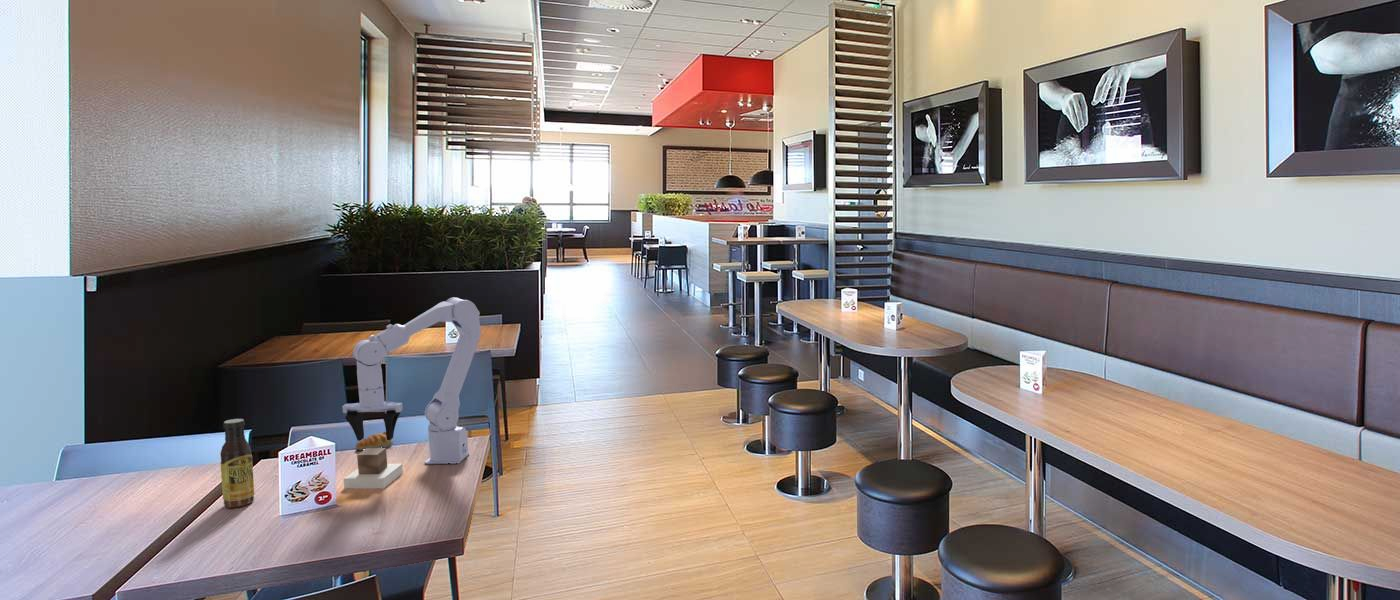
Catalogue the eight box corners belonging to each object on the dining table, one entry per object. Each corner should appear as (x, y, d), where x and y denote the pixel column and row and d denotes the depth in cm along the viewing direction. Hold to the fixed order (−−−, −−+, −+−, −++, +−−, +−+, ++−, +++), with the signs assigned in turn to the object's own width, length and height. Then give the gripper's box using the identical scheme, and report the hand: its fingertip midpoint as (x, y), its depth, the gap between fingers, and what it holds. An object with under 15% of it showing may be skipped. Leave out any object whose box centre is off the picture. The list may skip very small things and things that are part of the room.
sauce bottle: (232, 511, 163) (222, 426, 161) (218, 505, 167) (209, 423, 164) (262, 501, 169) (253, 419, 166) (248, 496, 172) (239, 415, 170)
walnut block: (387, 466, 183) (386, 447, 182) (378, 474, 178) (377, 454, 177) (367, 467, 183) (366, 448, 182) (358, 474, 178) (357, 455, 177)
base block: (403, 475, 185) (402, 463, 185) (384, 490, 175) (383, 478, 175) (365, 475, 186) (364, 463, 185) (344, 490, 176) (343, 478, 176)
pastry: (360, 454, 201) (359, 441, 200) (352, 449, 206) (351, 436, 205) (394, 446, 207) (393, 433, 207) (385, 441, 212) (384, 428, 212)
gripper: (334, 392, 178) (339, 444, 180) (392, 391, 177) (396, 444, 179) (348, 384, 185) (353, 435, 187) (404, 384, 184) (408, 435, 186)
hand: (375, 439), depth 183 cm, fingers open, 7 cm apart
